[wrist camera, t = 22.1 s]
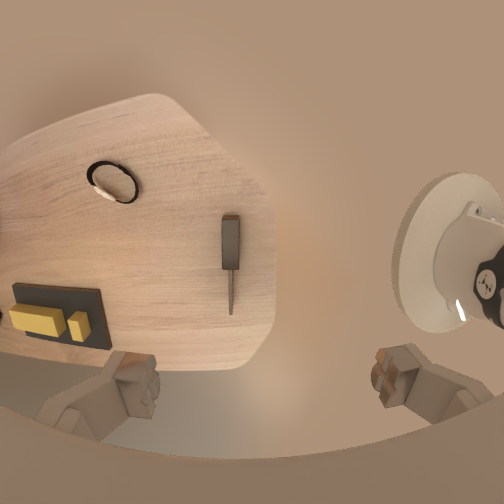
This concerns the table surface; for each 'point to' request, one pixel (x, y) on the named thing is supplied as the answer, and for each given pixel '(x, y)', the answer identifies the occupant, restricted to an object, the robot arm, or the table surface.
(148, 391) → the robot arm
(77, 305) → the butter dish
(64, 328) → the butter block
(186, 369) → the table surface
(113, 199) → the watch
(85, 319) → the butter pat
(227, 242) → the dark brown boxy part
